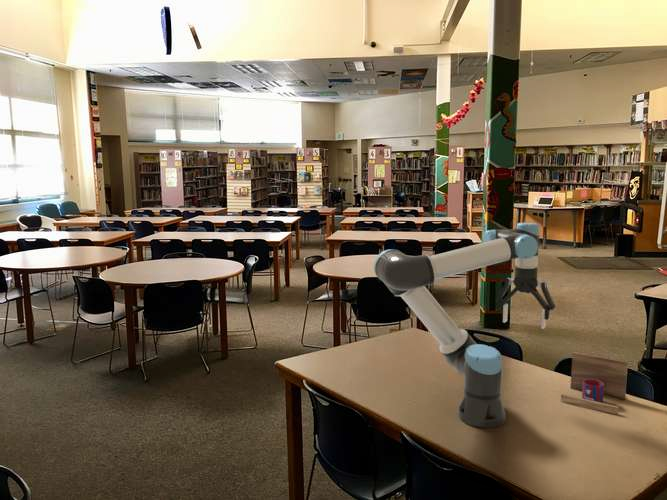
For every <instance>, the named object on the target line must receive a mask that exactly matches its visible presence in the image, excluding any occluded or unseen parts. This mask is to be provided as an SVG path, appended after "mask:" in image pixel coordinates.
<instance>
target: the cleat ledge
mask: <svg viewBox="0 0 667 500" xmlns="http://www.w3.org/2000/svg"><path fill="white" fill-rule="evenodd" d="M560 402H562V403H566V404H571V405H575V406H578V407H579V406H580V407H583V408H587V409H592V410H595V411H600V412H605V413H607V412H608V414H612V415H616V414H617V416H618V415H619V406H616V405H612V404H609V403H608V404H607V403H604V402H603V403H600V402H596V401H591V400H587V399H583V398H582V397H577V396H574V395H568V394H564V393H561V395H560Z"/></svg>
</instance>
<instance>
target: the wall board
mask: <svg viewBox="0 0 667 500" xmlns="http://www.w3.org/2000/svg"><path fill="white" fill-rule="evenodd" d="M571 356H572V357H571V372H570V377H571V378H570V389H572V390H577V391H581V392H582V389H583V380H585V379H594V380H600V381H601V382H603V383H604V392H603V397H607V398H613V399H617V400H622V401H625V400H626V398H627V395H626V394H627V393H626V392H627V381H628V380H627V377H628V368H629V367H628V365H629V364H628V363H629V361H626V360H621V359H615V358H611V357H605V356H599V355H594V354H591V353H583V352H576V351H573V352H572V355H571Z"/></svg>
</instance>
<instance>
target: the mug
mask: <svg viewBox="0 0 667 500" xmlns="http://www.w3.org/2000/svg"><path fill="white" fill-rule="evenodd" d="M603 392H604V383H603V382H601V381H600V380H594V379H585V380H583V389H582V391H581V398H583V399H587V400H591V401H596V402H600V403H604V396H603Z"/></svg>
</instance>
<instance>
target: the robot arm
mask: <svg viewBox="0 0 667 500" xmlns="http://www.w3.org/2000/svg"><path fill="white" fill-rule="evenodd" d="M539 245H540V225H539V224H538V223H535V222H518V223H517V224H516V228H514V229H513V228H512V229H510V228H509V229H490V230H489V229H487V230H486V231H485V232H484V233H483V235H482V242H480V243H476V244H473V245H469V246H464V247H461V248H457V249H453V250H449V251H446V252H442V253H437V254H433V255H431V256H430V255H429V254H427V253H426V254H424V253H423V254H421V255H407V254H405V253H404V252H401V251H400V250H398V249H386V250H384V251H382V252H381V253H379V254H378V255H377V257H376V258H375V260H374V264H373V269H374V270H373V271H374V273H375V275H376V277H377V279H378V280H380V281H382V282H383V283H384V285H385V286H386V287H387V289H388V290H389V291H390V292H391V294H393V295H394V297H401V299H402V300H403V301H404V302H405V303H406V304H407V305H408V307H409V308H410V310H411V311H413V314H415V315H416V317H417V318H418V319H419V320H420V322H422V324H423V325H424V326H425V328H426V329H427V330H428V332H430V334H431V335H432V337H434V338H435V339H436V341H437V342H438V343H439V351H440V353H441V354H442V355H443V356H444V357H445V360H446V362H447V363H448V364H449V366H450V367H452V368H454V369H455V370H456V371H457V372H458V373H459V374H460V375H461V376H462V377H463V378H464V386H463V387H464V389H463V396H462V398H461V400H460V403H459V406H458V409H457V410H458V415H457V416H458V417H459V419H460V421H462V422H464V424H465V423H466V424H468V425H470V426H472V427H478V428H487V429H488V428H489V429H490V428H497V427H499V426H502V425H504V424H505V422H506V411H505V407H504V404H503V401H502V397H501V396H502V395H501V391H502V373H503V372H502V370H503V361H502V354H501V353H500V351H499V350H497V348H495V347H493V346H488V345H486V344H481V343H479V344H478V343H477V342H476V341H475V340H474V339H473V337H472V336H471V334H470V333H468V331H467V330H465V328H464V329H463V328H459V327H458V326H457V324H456V323H455V322H454V321H453V319H452V318H451V317H450V316H449V314H447V311H445V309H444V308H443V307H442V305H440V303H439V302H438V301H437V300H436V298H435V297H434V296H433V294H432V293H431V292H430V291H429V290H428V288H427V287H426V286H430V285H434V284H435V282H436V281H437V280H438V279H439V280H440V279H443V278H447V277H450V276H455V275H459V274H462V273H466V272H471V271H473V270H476V269H480V268H484V267H488V266H492V265H496V264H499V263H504V262H507V261H510V260H515V261H514V262H515V263H514V265H515V268H514V279H513V278H511V277H507V278H505V281H504V284H503V286H502V288H501V290H500V292H499V293H498V295H497V297H496V299H495V302H496V303H499V304H500V313H501V314H502V323H504V324H505V323H506V322H508V316H509V315H508V313H509V312H508V311H509V304H508V303H507V302H508V301H510V299H511V298H512V297H513V296H514V295H515V294H516V293H517V292H520V293H525V294H531V295H532V296H533V297H534V298H535V300H537V302H538V304H540V306H541V308H543V309H542V310H541V327H540V328H541V329H542V330H544V329H546V327H547V320H549V319H550V311H552V310H555V309H556V305H555V303H554V302H555V301H554V300H553V298H552V296H551V293H550V292H549V289H548V284H547V281H538V272H539V271H538V270H539V269H538V268H537V267H538V266H539ZM512 284H513V285H514V288H513V289H512V290H511V291H510V292H509V293H508V294H507V295H506V296H505V294H506V293H507V291H508V290H509V287H510V286H511V285H512ZM538 287H539V288H540V289H541V291H542V294H543V295H541V293H540V292H539V290H538V289H537V288H538ZM504 296H505V297H504ZM543 296H544V297H543ZM503 297H504V298H503Z"/></svg>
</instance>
